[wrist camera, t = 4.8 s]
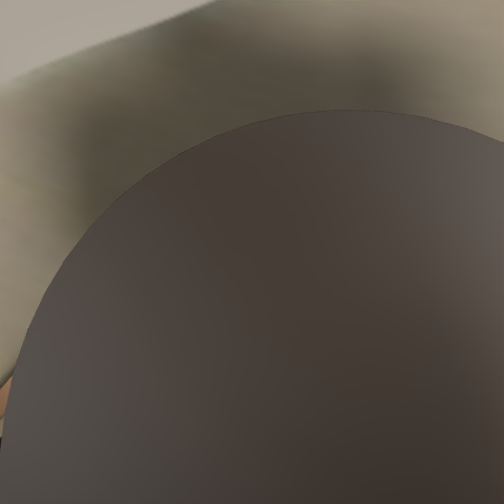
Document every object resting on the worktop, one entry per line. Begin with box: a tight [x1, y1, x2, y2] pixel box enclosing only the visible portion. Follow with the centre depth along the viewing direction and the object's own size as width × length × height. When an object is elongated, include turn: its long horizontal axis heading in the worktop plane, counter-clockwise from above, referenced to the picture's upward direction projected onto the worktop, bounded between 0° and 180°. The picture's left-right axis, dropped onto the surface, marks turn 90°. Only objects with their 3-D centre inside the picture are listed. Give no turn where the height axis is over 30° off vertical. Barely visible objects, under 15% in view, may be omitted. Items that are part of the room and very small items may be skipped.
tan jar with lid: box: [0, 110, 504, 504], centre depth 8 cm, size 5×5×11 cm
